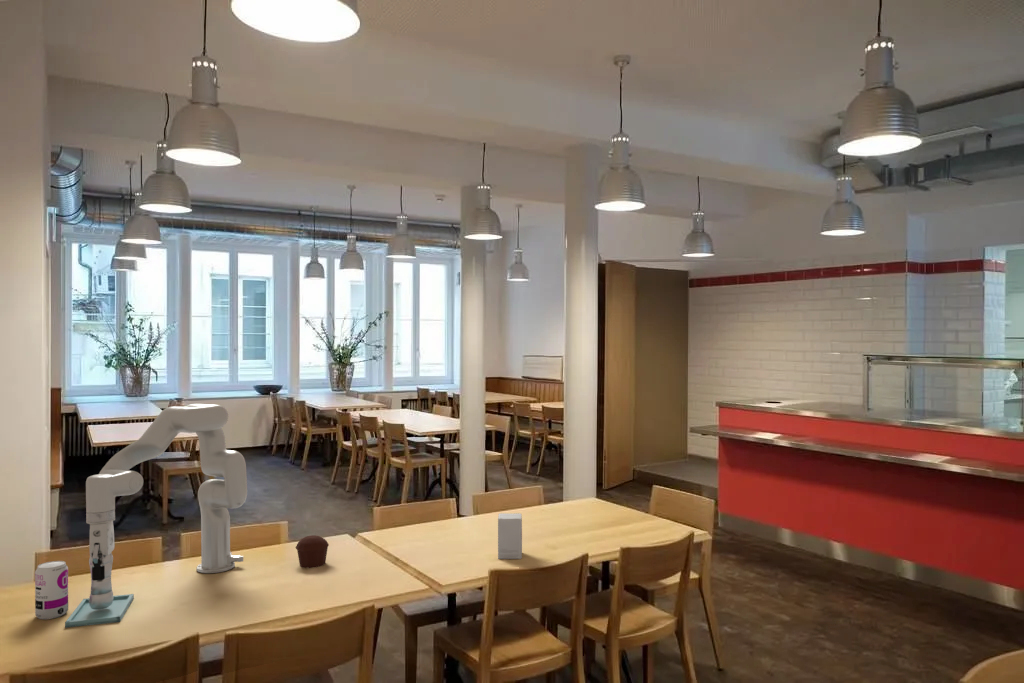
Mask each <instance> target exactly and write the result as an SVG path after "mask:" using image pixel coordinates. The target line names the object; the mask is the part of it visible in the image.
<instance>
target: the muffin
mask: <svg viewBox="0 0 1024 683" xmlns="http://www.w3.org/2000/svg"><path fill="white" fill-rule="evenodd" d="M329 546H330V544H329V543H328V541H327V540H326V539H325V538H324V537H322V536H320V535H307V536H304V537H303V538H301V539H300V540H299V541H298V542H297V544H296V546H295V549H296V550H297V555H298V556H297V558H298V562H299V563H298V564H299V566H300V567H301V568H306V569H310V568H311V569H312V568H313V569H314V568H315V569H316V568H319V567H323V566H324V565H325V564H326V562H327V554H328V547H329Z"/></svg>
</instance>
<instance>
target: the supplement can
mask: <svg viewBox="0 0 1024 683" xmlns="http://www.w3.org/2000/svg"><path fill="white" fill-rule="evenodd" d="M34 589H35V590H34V594H35V595H34V598H35V599H34V601H35V602H34V603H35V607H34V608H35V609H34V611H35V612H34V613H35V617H36V618H38V619H39V620H52V619H56V618H61V617H63V616H64V615H66V613H67V612H68V611H69V567H68V565H67V564H66V561H64V560H54V561H47V562H43V563H40V564H38V565H37V568H36V569H35V571H34Z"/></svg>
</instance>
